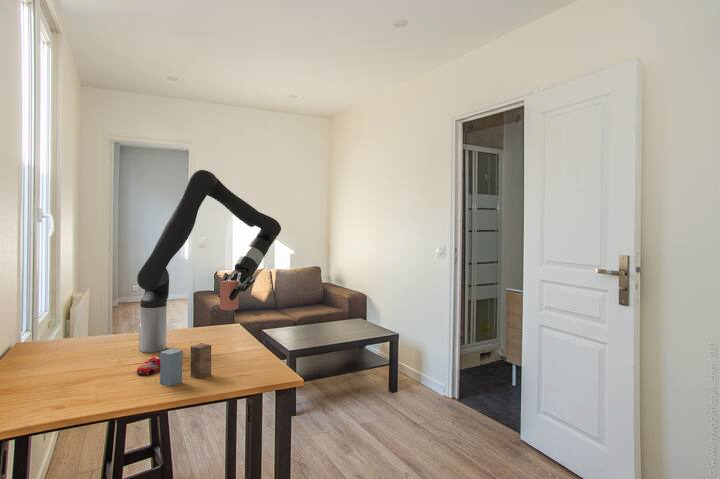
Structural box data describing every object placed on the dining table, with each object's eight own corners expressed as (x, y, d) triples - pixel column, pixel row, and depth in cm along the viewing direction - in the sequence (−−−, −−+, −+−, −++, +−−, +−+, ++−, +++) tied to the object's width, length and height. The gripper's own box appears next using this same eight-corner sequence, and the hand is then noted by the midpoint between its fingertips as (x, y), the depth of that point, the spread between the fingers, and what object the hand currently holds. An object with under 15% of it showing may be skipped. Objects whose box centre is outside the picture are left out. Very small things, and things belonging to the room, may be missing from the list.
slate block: (160, 383, 131) (160, 352, 131) (172, 379, 135) (172, 348, 135) (169, 386, 129) (170, 354, 129) (182, 381, 133) (182, 350, 133)
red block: (219, 309, 150) (220, 281, 149) (229, 307, 154) (229, 279, 153) (229, 310, 148) (229, 282, 147) (238, 308, 152) (238, 280, 151)
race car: (145, 377, 137) (145, 365, 137) (132, 375, 139) (132, 363, 138) (175, 365, 150) (175, 353, 149) (163, 363, 151) (162, 352, 151)
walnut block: (190, 376, 138) (190, 346, 138) (201, 372, 142) (201, 343, 142) (200, 379, 136) (200, 348, 136) (211, 374, 140) (211, 345, 140)
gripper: (230, 254, 160) (205, 290, 150) (259, 256, 153) (235, 293, 143) (240, 267, 165) (216, 302, 155) (268, 269, 158) (245, 306, 148)
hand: (225, 298), depth 149 cm, fingers closed on red block, 4 cm apart
